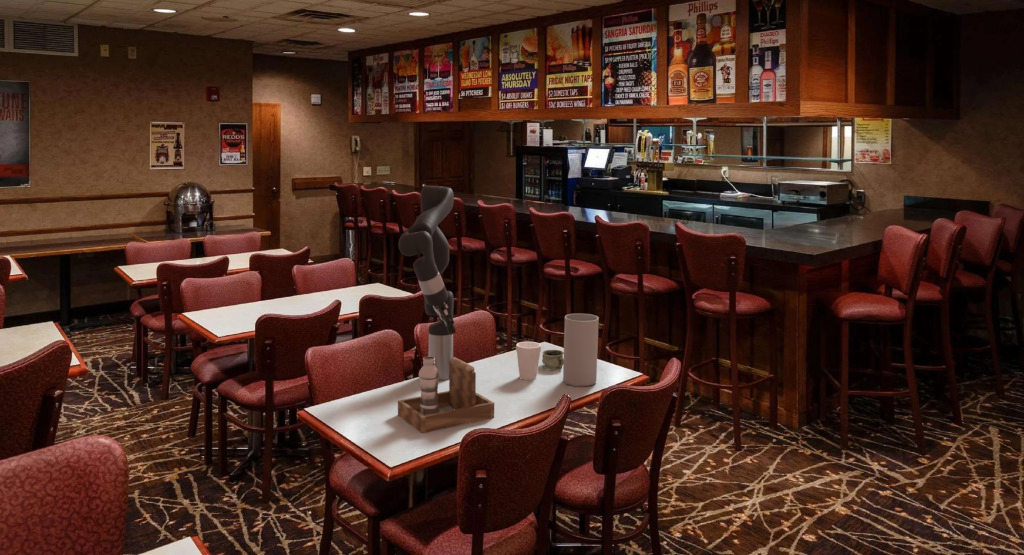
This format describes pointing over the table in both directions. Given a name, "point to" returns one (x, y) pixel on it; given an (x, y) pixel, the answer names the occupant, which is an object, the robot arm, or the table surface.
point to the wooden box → (450, 402)
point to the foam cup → (528, 359)
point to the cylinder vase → (580, 349)
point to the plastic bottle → (429, 387)
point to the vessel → (553, 359)
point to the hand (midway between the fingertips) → (448, 328)
